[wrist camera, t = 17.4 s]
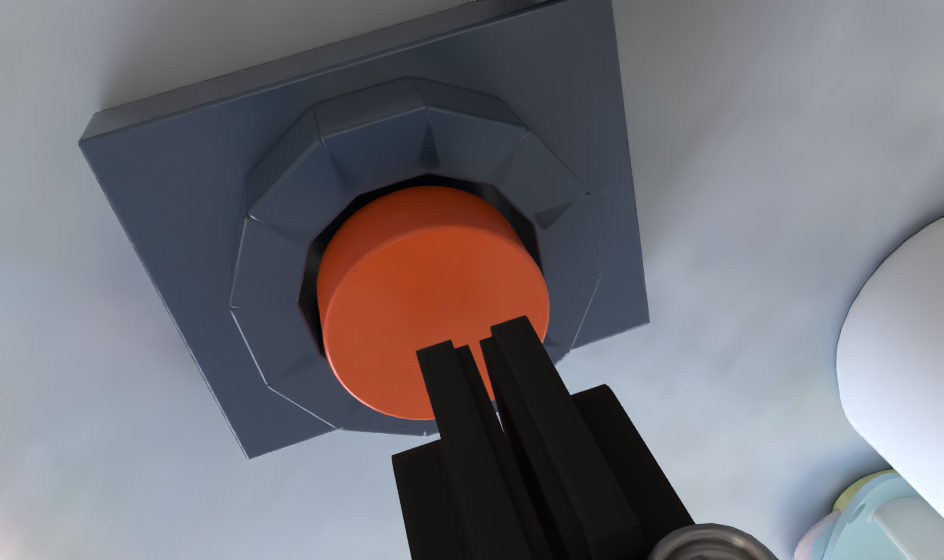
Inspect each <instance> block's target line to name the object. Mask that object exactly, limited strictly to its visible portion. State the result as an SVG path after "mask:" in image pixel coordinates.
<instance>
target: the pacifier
mask: <svg viewBox="0 0 944 560" xmlns="http://www.w3.org/2000/svg"><path fill="white" fill-rule="evenodd" d="M824 550H825V552H824ZM823 552H824V556H823V557H822V555H823ZM794 560H944V517H943V516H942V515H941V514H940V513H939V512H938V511H937V510H936V509H935V508H933V507H932V506H931V505H930V504H929V503H928V502H927V501H926V500H925V499H924V498H923V497H922V496H921V495H920V494H919V493H918V492H917V491H916V490H915V489H914V488H913V487H912V486H911V485H910V484H909V483H908V482H907V481H906V480H905V479H904V478H903V477H902V476H901V475H900V474H899V473H898V472H897V471H896V470H895V469H890V470H884V471H880V472H877V473H873V474H871V475H868V476H865V477H863V478H861V479H859V480H858V481H856V482H855V483H854V484H852V485H851V486H850V487H848V488H847V489H846V490H845V491H844V492H843V493H842V494H841V495H840V497H839V498H838V499H837V501H836V502H835V505H834V507H833V511H832V513H831V514H829V515H828V516H826V517H825V518H823V519H822V520H821V521H819V522H818V523H817V524H815V525H814V526H813V527H812V528H811V529H810V530H809V531H808V532H807V533H806V534H805V535H804V536H803V537H802V538H801V540H800V541H799V543H798V545H797V547H796V549H795V551H794Z"/></svg>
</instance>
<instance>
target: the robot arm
mask: <svg viewBox="0 0 944 560" xmlns="http://www.w3.org/2000/svg"><path fill="white" fill-rule="evenodd" d="M490 331H491V335H492V336H491V337H488V338H485V339H482V340H479V342H480V347H481V351H482V354H483V358H484V362H485V365H486V369H487V373H488V376H489V380H490V383H491V387H492V391H493V394H494V398H495V402H496V405H497V409H498V413H499V416H500V420H501V424H502V427H503V430H502V427H501V425H500V422H499V420H498V417H497V415H496V412H495V410H494V407H493V405H492V402H491V400H490V397H489V395H488V392H487V390H486V387H485V385H484V382H483V380H482V377H481V375H480V372H479V370H478V367H477V365H476V362H475V360H474V357H473V355H472V352H471V350H470V347H469V345H468V344H467V345H464V346H461V347H458V348H454V346H453V343H452V340H451V339H450V340H447V341H444V342H441V343H438V344H434V345H431V346H428V347H425V348H422V349H419V350H416V355H417V358H418V362H419V365H420V369H421V372H422V375H423V379H424V382H425V386H426V389H427V393H428V396H429V399H430V403H431V406H432V410H433V413H434V416H435V420H436V423H437V427H438V430H439V434H440V437H441V439H439V440H436V441H433V442H430V443H427V444H424V445H421V446H418V447H415V448H412V449H409V450H406V451H403V452H400V453H397V454H394V455H392V464H393V470H394V475H395V479H396V484H397V489H398V494H399V499H400V504H401V509H402V514H403V519H404V524H405V529H406V534H407V539H408V543H409V548H410V553H411V558H412V560H778V559H777V557H776V556H775V555H774V554H773V553H772V552H771V551H770V550H769V549H768V548H767V547H766V546H764V545H763V544H762V543H761V542H759V541H758V540H757V539H756V538H754V537H753V536H752V535H750V534H748V533H745V532H743V531H741V530H739V529H736V528H734V527H731V526H725V525H720V524H714V523H707V524H695V522H694V521H693V519H692V518H691V516H690V514H689V513H688V511H687V510H686V508H685V506H684V505H683V503H682V502H681V500H680V498H679V497H678V495H677V494H676V492H675V490H674V489H673V487H672V486H671V484H670V482H669V481H668V479H667V478H666V476H665V474H664V473H663V471H662V470H661V468H660V466H659V465H658V463H657V462H656V460H655V458H654V457H653V455H652V454H651V452H650V450H649V449H648V447H647V445H646V444H645V442H644V441H643V439H642V437H641V436H640V434H639V433H638V431H637V429H636V428H635V426H634V425H633V423H632V421H631V420H630V418H629V417H628V415H627V413H626V412H625V410H624V409H623V407H622V405H621V404H620V402H619V401H618V399H617V397H616V396H615V394H614V393H613V391H612V390H611V389H610V387H609V386H607V385H606V384H603V385H600V386H597V387H594V388H591V389H588V390H585V391H582V392H579V393H576V394H573V395H570V394H569V392H568V390H567V388H566V387H565V385H564V383H563V381H562V379H561V377H560V376H559V374H558V372H557V370H556V368H555V366H554V365H553V363H552V361H551V359H550V357H549V355H548V353H547V352H546V350H545V348H544V346H543V344H542V342H541V341H540V339H539V337H538V335H537V333H536V331H535V330H534V328H533V326H532V324H531V322H530V320H529V319H528V317H527V316H526V315H524V316H520V317H517V318H514V319H511V320H508V321H505V322H502V323H499V324H496V325H493V326H490ZM503 431H504V432H503Z"/></svg>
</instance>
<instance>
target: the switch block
mask: <svg viewBox="0 0 944 560" xmlns="http://www.w3.org/2000/svg"><path fill="white" fill-rule="evenodd" d="M78 144H79V147H80V149H81V151H82V153H83V155H84V156H85V158H86V160H87V162H88V164H89V166H90V168H91V170H92V171H93V173H94V175H95V177H96V179H97V181H98V183H99V184H100V186H101V188H102V190H103V192H104V194H105V196H106V197H107V199H108V201H109V203H110V205H111V207H112V209H113V211H114V212H115V214H116V216H117V218H118V220H119V222H120V224H121V225H122V227H123V229H124V231H125V233H126V235H127V237H128V238H129V240H130V242H131V244H132V246H133V248H134V250H135V252H136V253H137V255H138V257H139V259H140V261H141V263H142V265H143V266H144V268H145V270H146V272H147V274H148V276H149V278H150V279H151V281H152V283H153V285H154V287H155V289H156V291H157V293H158V294H159V296H160V298H161V300H162V302H163V304H164V306H165V307H166V309H167V311H168V313H169V315H170V317H171V319H172V320H173V322H174V324H175V326H176V328H177V330H178V332H179V334H180V335H181V337H182V339H183V341H184V343H185V345H186V347H187V348H188V350H189V352H190V354H191V356H192V358H193V360H194V361H195V363H196V365H197V367H198V369H199V371H200V373H201V375H202V376H203V378H204V380H205V382H206V384H207V386H208V388H209V389H210V391H211V393H212V395H213V397H214V399H215V401H216V403H217V404H218V406H219V408H220V410H221V412H222V414H223V416H224V417H225V419H226V421H227V423H228V425H229V427H230V429H231V430H232V432H233V434H234V436H235V438H236V440H237V442H238V444H239V445H240V447H241V449H242V451H243V453H244V455H245V456H246V458H247V459H251V458H254V457H257V456H260V455H263V454H266V453H269V452H272V451H275V450H278V449H281V448H284V447H287V446H290V445H293V444H296V443H299V442H301V441H304V440H307V439H310V438H313V437H316V436H319V435H322V434H325V433H328V432H331V431H334V430H337V429H341V430H347V431H360V432H374V433H387V434H400V435H414V436H424V435H425V436H429V435H432V434H435V433H438V432H439V430H438V427H437V423H436V420H435V419H431V420H412V419H404V418H398V417H394V416H390V415H386V414H384V413H381V412H379V411H376V410H374V409H372V408H370V407H368V406H366V405H365V404H363V403H361V402H360V401H359V400H357V399H356V398H355V397H353V396H352V395H351V394H350V393H349V392H348V391H347V390H346V389H345V388H344V387H343V386H342V385H341V383H340V382H339V381H338V379H337V378H336V377H335V375H334V373H333V371H332V369H331V367H330V365H329V363H328V360H327V357H326V354H325V349H324V342H323V335H322V328H321V320H320V313H319V306H318V299H317V276H318V270H319V266H320V263H321V259H322V256H323V254H324V252H325V250H326V248H327V246H328V244H329V242H330V240H331V239H332V237H333V236H334V234H335V233H336V232H337V230H338V229H339V228H340V227H341V226H342V225H343V223H344V222H345V221H346V220H347V219H349V218H350V217H351V216H352V215H353V214H354V213H355V212H356V211H358V210H359V209H361V208H362V207H364V206H365V205H366V204H368V203H370V202H372V201H373V200H375V199H377V198H379V197H381V196H384V195H386V194H389V193H391V192H394V191H398V190H402V189H406V188H411V187H419V186H442V187H450V188H455V189H459V190H463V191H466V192H469V193H471V194H473V195H476V196H478V197H480V198H481V199H483V200H485V201H487V202H488V203H490V204H491V205H492V206H493V207H495V208H496V209H497V210H498V211H499V212H500V213H501V214H502V215H503V216H504V217H505V218H506V219H507V220H508V222H509V223H510V225H511V226H512V228H513V229H514V231H515V232H516V234H517V235H518V237H519V238H520V240H521V241H522V243H523V244H524V246H525V247H526V249H527V250H528V252H529V253H530V255H531V257H532V258H533V260H534V261H535V263H536V264H537V266H538V267H539V269H540V271H541V273H542V275H543V277H544V279H545V283H546V286H547V290H548V295H549V303H550V309H549V322H548V327H547V332H546V335H545V338H544V341H543V346H544V348H545V350H546V352H547V353H548V355H549V357H550V359H551V361H552V363H553V365H554V366H555V365H556V364H557V363H558V362H560V361H561V360H562V359H563V358H564V357H565V356H566V355H567V354H568V353H569V352H570V350H572V349H575V348H578V347H581V346H584V345H587V344H590V343H593V342H596V341H599V340H602V339H605V338H608V337H611V336H614V335H617V334H620V333H623V332H625V331H628V330H631V329H634V328H637V327H640V326H643V325H646V324H648V323H649V322H650V319H649V310H648V302H647V294H646V285H645V277H644V268H643V260H642V252H641V243H640V235H639V226H638V218H637V209H636V201H635V193H634V184H633V176H632V167H631V159H630V151H629V142H628V134H627V125H626V117H625V109H624V100H623V92H622V83H621V75H620V67H619V58H618V50H617V41H616V33H615V24H614V16H613V8H612V0H546V1H543V2H539V3H535V2H533V1H531V0H480V1H477V2H473V3H470V4H467V5H463V6H460V7H456V8H453V9H449V10H446V11H443V12H439V13H436V14H432V15H429V16H426V17H422V18H419V19H415V20H412V21H408V22H405V23H402V24H398V25H395V26H391V27H388V28H385V29H381V30H378V31H374V32H371V33H367V34H364V35H361V36H357V37H354V38H350V39H347V40H344V41H340V42H337V43H333V44H330V45H326V46H323V47H320V48H316V49H313V50H309V51H306V52H303V53H299V54H296V55H292V56H289V57H285V58H282V59H279V60H275V61H272V62H268V63H265V64H262V65H258V66H255V67H251V68H248V69H244V70H241V71H238V72H234V73H231V74H227V75H224V76H221V77H217V78H214V79H210V80H207V81H203V82H200V83H197V84H193V85H190V86H186V87H183V88H180V89H176V90H173V91H169V92H166V93H162V94H159V95H156V96H152V97H149V98H145V99H142V100H139V101H135V102H132V103H128V104H125V105H121V106H118V107H115V108H111V109H108V110H104V111H101V112H98V113H95V114H94V115H93V117H92V119H91V120H90V122H89V124H88V126H87V127H86V129H85V131H84V133H83V134H82V136H81V138H80V140H79V141H78ZM491 402H492V405H493V407H494V410H495V412H498V409H497V405H496V402H495V399H494V400H492V401H491Z"/></svg>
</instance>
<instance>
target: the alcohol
mask: <svg viewBox="0 0 944 560" xmlns="http://www.w3.org/2000/svg"><path fill="white" fill-rule="evenodd" d="M836 370H837V378H838V386H839V393H840V398H841V402H842V407H843V411H844V413H845V415H846V417H847V418H848V420H849V422H850V423H851V425H852V427H853V428H854V429H855V430H856V431H857V432H858V433H859V434H860V435H861V436H862V437H863V438H864V439H865V440H866V441H867V442H868V443H869V444H870V445H871V446H872V447H873V448H874V449H875V450H876V451H877V452H878V453H879V454H880V455H881V456H882V457H883V458H884V459H885V460H886V461H887V462H888V463H889V464H890V465H891V466H892V467H893V468H894V469H895V470H896V471H897V472H898V473H899V474H900V475H901V476H902V477H903V478H904V479H905V480H906V481H907V482H908V483H909V484H910V485H911V486H912V487H913V488H914V489H915V490H916V491H917V492H918V493H919V494H920V495H921V496H922V497H923V498H924V499H925V500H926V501H927V502H928V503H929V504H930V505H931V506H932V507H933V508H935V509H936V510H937V511H938V512H939V513H940V514H941V515H942V516H943V517H944V217H943V218H941V219H939V220H937V221H935V222H933V223H931V224H929V225H928V226H926V227H925V228H924V229H922V230H921V231H919V232H918V233H917V234H915V235H914V236H912V237H911V238H909V239H908V240H907V241H905V242H904V243H903V244H902V245H901V246H900V247H899V248H898V249H897V250H895V251H894V252H893V253H892V254H891V255H890V256H889V257H888V258H887V259H886V260H885V261H884V262H883V263H882V264H881V265H880V266H879V268H878V269H877V270H876V271H875V272H874V274H873V275H872V276H871V277H870V278H869V280H868V281H867V282H866V283H865V285H864V287H863V288H862V290H861V291H860V293H859V294H858V296H857V298H856V299H855V301H854V302H853V304H852V306H851V308H850V310H849V312H848V315H847V317H846V319H845V322H844V324H843V326H842V329H841V333H840V337H839V341H838V346H837V359H836Z"/></svg>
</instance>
